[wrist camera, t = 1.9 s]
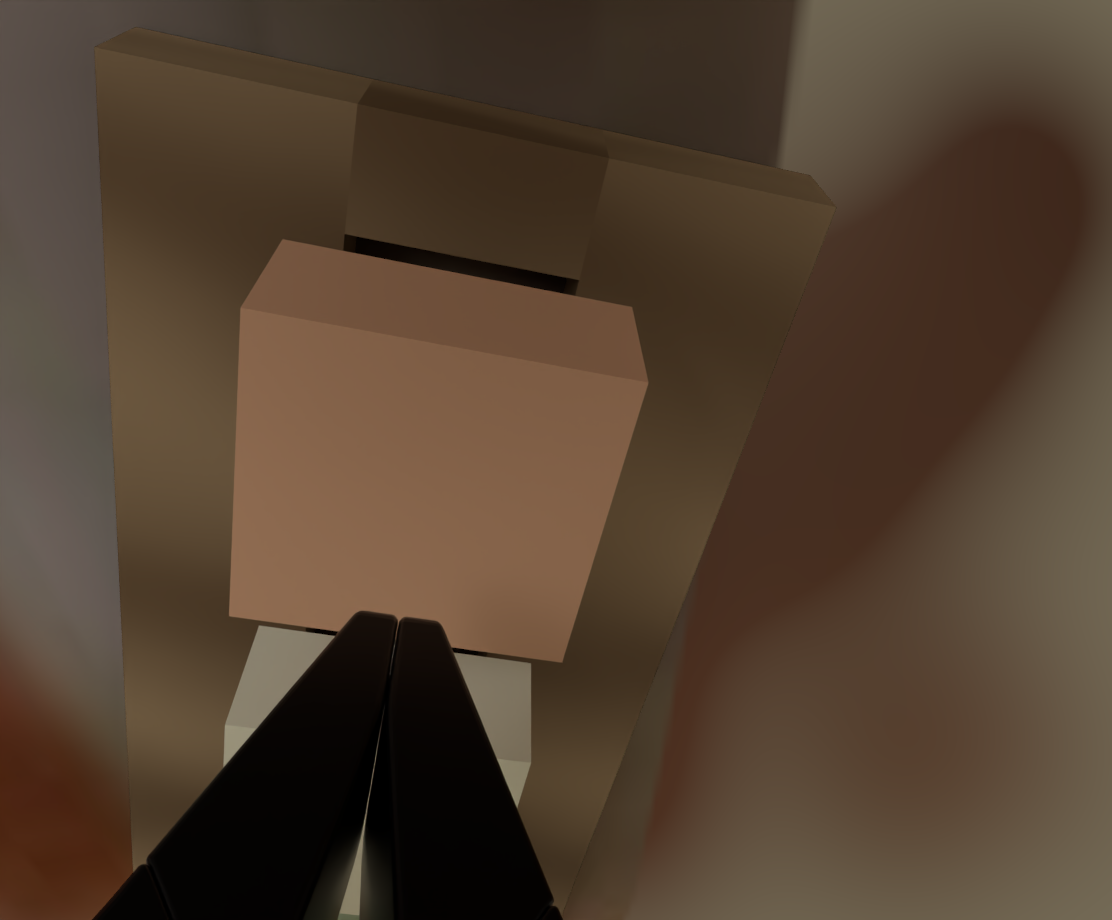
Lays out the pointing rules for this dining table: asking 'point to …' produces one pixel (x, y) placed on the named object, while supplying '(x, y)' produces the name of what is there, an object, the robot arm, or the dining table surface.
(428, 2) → the dining table surface
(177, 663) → the walnut panel
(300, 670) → the white cube
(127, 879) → the robot arm
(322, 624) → the salmon tan cube
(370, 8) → the dining table surface
